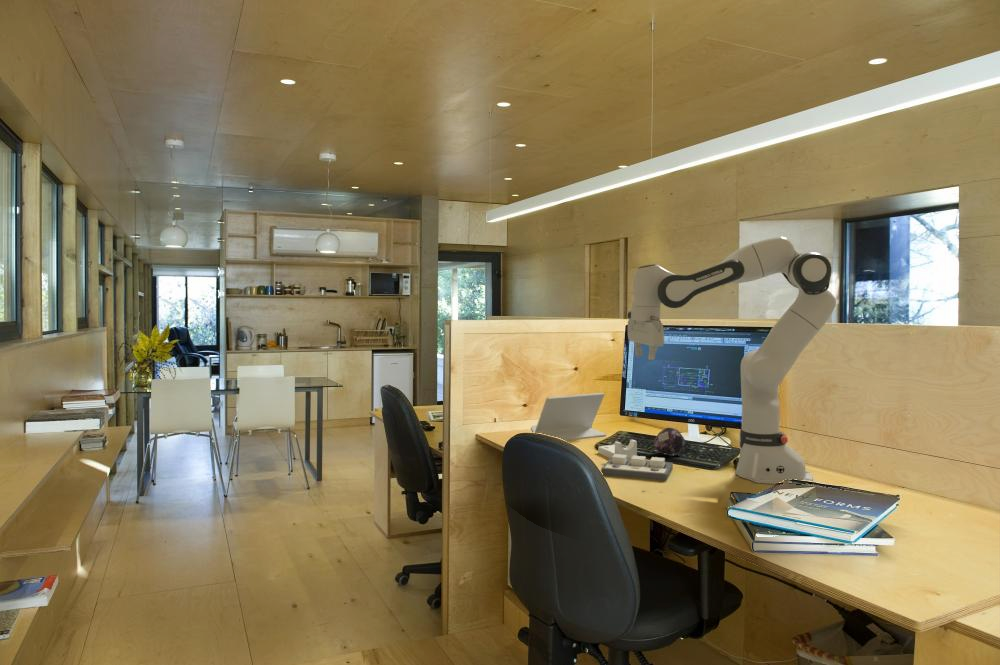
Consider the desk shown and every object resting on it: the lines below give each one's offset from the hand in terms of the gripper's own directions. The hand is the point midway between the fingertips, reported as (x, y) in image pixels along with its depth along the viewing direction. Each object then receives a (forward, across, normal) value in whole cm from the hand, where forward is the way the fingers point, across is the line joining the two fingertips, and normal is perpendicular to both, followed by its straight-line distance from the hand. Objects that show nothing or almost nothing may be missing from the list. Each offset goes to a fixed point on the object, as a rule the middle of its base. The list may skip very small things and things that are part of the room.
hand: (644, 357), depth 228 cm
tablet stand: (+37, +52, +8) cm, 65 cm away
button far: (+34, -2, +9) cm, 35 cm away
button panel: (+36, -7, +4) cm, 37 cm away
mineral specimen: (+36, +13, -16) cm, 42 cm away
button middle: (+34, -6, +4) cm, 34 cm away
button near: (+34, -9, -1) cm, 35 cm away
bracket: (+37, +12, +3) cm, 39 cm away
